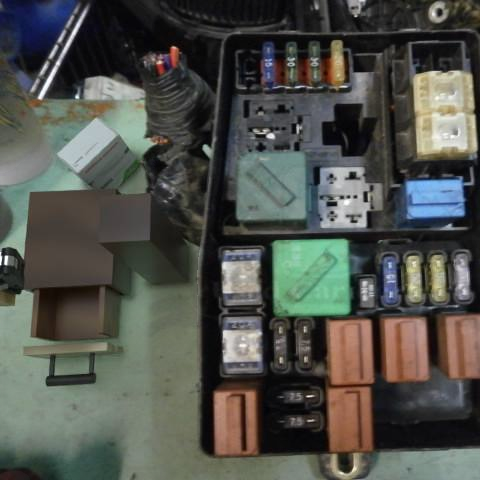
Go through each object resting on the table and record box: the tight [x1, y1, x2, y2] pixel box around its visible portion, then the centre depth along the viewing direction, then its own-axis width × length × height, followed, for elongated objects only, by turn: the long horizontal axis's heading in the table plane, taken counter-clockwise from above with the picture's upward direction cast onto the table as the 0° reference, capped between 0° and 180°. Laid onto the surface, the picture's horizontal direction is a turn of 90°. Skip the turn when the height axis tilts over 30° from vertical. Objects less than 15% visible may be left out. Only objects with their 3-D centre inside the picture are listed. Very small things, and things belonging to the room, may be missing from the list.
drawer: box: [22, 285, 124, 388], centre depth 79 cm, size 18×11×7 cm, turn 4°
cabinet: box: [23, 188, 133, 297], centre depth 83 cm, size 15×13×9 cm
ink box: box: [56, 116, 141, 189], centre depth 85 cm, size 9×5×12 cm, turn 141°
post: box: [98, 192, 190, 285], centre depth 75 cm, size 6×6×24 cm
